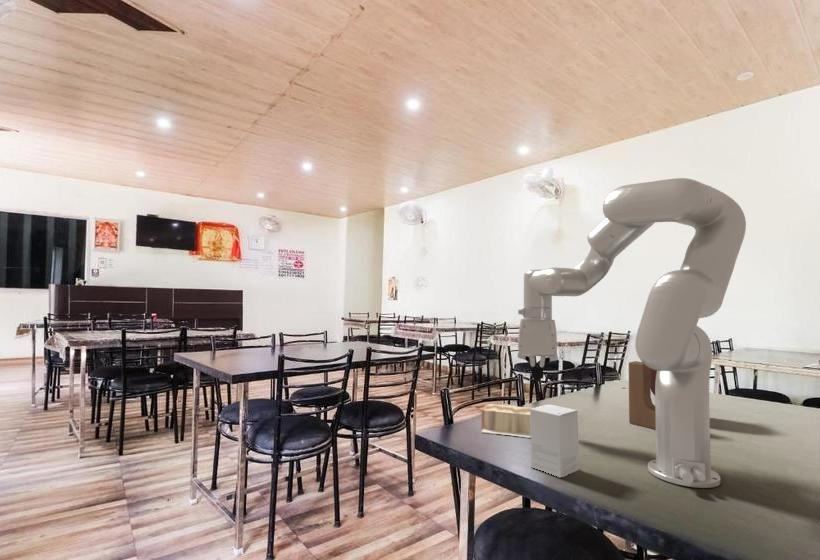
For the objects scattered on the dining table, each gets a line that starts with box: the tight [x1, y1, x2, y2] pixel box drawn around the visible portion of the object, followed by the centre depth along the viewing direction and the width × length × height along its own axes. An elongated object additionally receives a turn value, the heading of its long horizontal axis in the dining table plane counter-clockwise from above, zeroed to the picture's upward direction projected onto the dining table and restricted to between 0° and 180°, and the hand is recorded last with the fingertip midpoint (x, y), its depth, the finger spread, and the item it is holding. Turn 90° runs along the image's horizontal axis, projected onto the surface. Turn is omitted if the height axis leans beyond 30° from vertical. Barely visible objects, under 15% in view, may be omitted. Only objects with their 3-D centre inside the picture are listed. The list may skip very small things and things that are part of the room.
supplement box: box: [530, 403, 579, 479], centre depth 91 cm, size 7×7×13 cm
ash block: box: [481, 403, 533, 434], centre depth 119 cm, size 8×5×16 cm
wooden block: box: [628, 360, 656, 430], centre depth 124 cm, size 9×4×18 cm, turn 38°
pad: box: [481, 429, 531, 439], centre depth 119 cm, size 14×14×1 cm
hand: (537, 380), depth 117 cm, fingers closed
